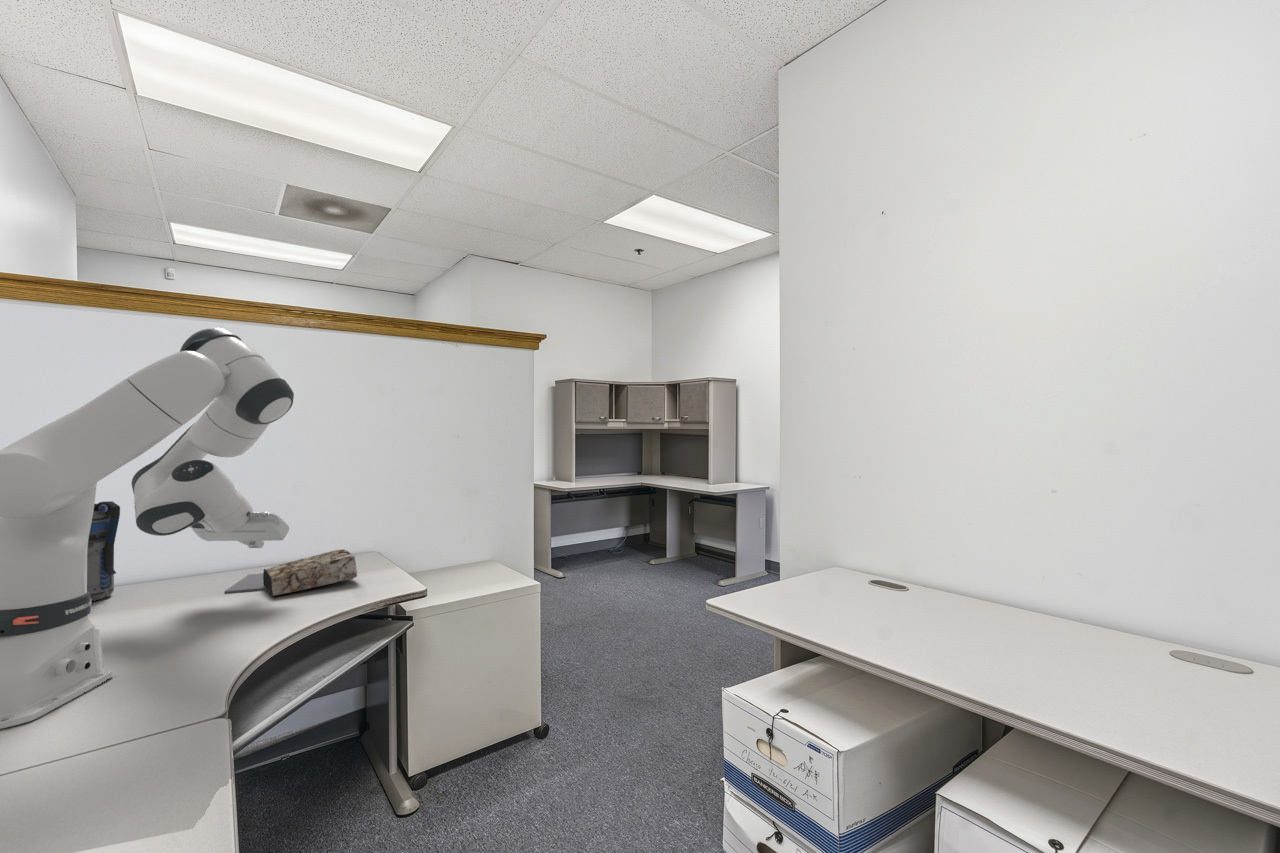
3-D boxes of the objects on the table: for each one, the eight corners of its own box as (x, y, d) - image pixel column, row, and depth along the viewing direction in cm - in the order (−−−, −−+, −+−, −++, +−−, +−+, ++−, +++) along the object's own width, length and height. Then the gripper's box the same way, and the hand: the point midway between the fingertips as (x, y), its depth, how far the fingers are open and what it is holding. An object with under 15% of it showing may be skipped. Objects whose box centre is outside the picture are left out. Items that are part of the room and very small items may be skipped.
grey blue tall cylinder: (97, 605, 131) (98, 501, 131) (39, 606, 130) (40, 502, 131) (134, 593, 141) (135, 496, 142) (80, 594, 141) (81, 497, 141)
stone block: (273, 604, 136) (359, 580, 150) (270, 577, 135) (357, 555, 149) (263, 586, 146) (345, 565, 159) (260, 562, 145) (343, 542, 158)
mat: (304, 586, 146) (304, 584, 146) (224, 593, 140) (224, 591, 140) (319, 570, 163) (319, 568, 163) (248, 576, 157) (248, 574, 157)
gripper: (279, 502, 132) (303, 535, 142) (194, 502, 132) (224, 535, 142) (266, 523, 128) (292, 556, 137) (178, 524, 127) (210, 556, 137)
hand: (257, 545), depth 139 cm, fingers closed
